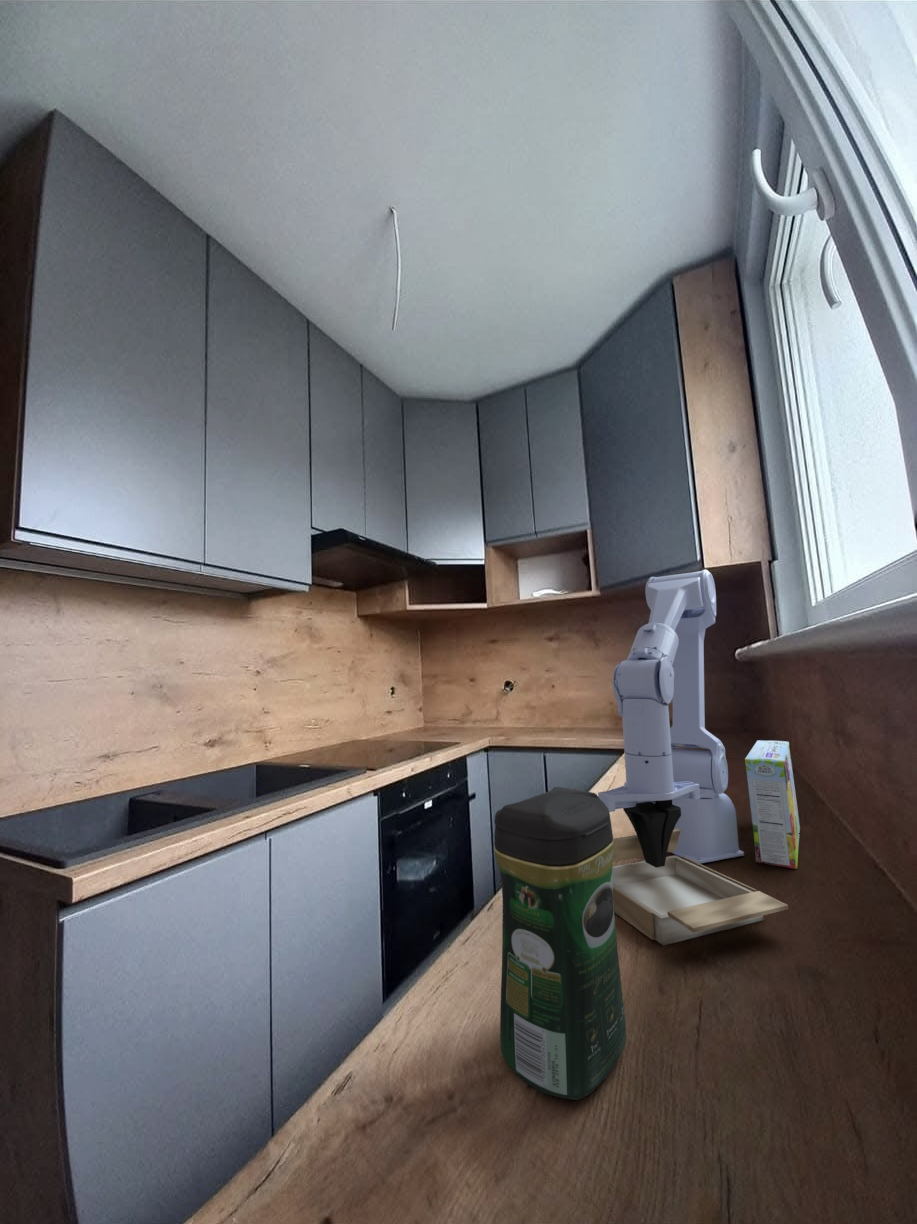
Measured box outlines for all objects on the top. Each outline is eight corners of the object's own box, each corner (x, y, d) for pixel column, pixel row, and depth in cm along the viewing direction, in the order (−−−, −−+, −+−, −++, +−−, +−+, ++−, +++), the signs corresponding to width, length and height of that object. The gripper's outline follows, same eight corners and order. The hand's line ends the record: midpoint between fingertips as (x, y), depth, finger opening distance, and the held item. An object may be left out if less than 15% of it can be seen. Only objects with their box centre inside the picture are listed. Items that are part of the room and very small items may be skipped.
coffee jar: (551, 996, 42) (542, 776, 45) (640, 1040, 37) (626, 789, 39) (480, 1062, 35) (474, 797, 38) (578, 1130, 30) (565, 816, 32)
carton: (679, 874, 67) (677, 853, 67) (766, 919, 54) (764, 893, 55) (586, 893, 62) (585, 870, 62) (659, 946, 50) (657, 917, 50)
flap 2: (758, 890, 54) (788, 905, 51) (759, 894, 54) (788, 909, 51) (667, 911, 50) (693, 928, 47) (667, 915, 50) (693, 932, 47)
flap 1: (672, 848, 66) (678, 828, 66) (674, 850, 66) (680, 830, 65) (593, 862, 62) (598, 840, 61) (594, 864, 62) (600, 843, 61)
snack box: (763, 824, 88) (755, 739, 89) (801, 829, 84) (792, 741, 86) (752, 863, 70) (743, 756, 72) (799, 871, 67) (788, 759, 69)
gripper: (668, 744, 69) (675, 845, 67) (581, 752, 64) (587, 861, 62) (709, 752, 62) (718, 863, 60) (616, 761, 57) (623, 883, 55)
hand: (654, 864), depth 61 cm, fingers closed
